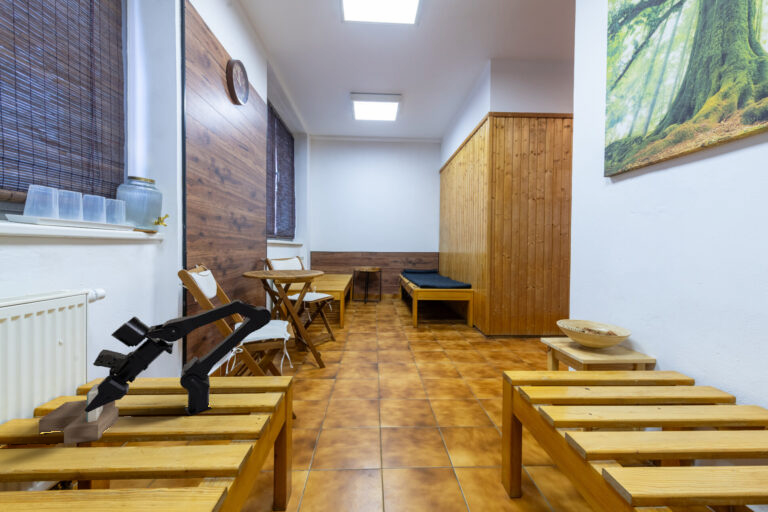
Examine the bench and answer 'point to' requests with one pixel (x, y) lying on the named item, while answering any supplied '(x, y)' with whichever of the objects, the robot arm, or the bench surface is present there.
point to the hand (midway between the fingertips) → (91, 403)
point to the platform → (78, 421)
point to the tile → (91, 394)
